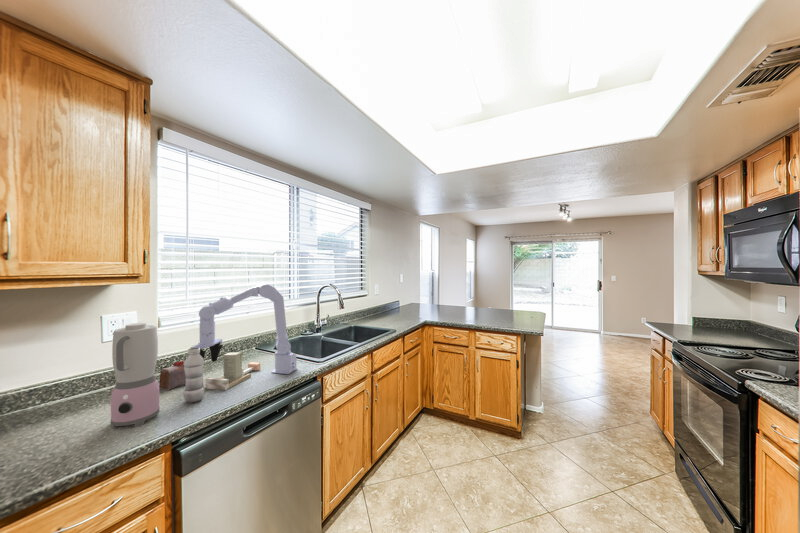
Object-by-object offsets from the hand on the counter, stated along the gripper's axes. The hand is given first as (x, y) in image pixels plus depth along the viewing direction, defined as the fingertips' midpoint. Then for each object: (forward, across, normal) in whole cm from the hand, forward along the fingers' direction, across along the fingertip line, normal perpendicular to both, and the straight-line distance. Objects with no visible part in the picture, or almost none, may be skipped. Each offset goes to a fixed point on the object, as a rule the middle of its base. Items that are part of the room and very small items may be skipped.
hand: (207, 363), depth 130 cm
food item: (+9, +3, -11) cm, 14 cm away
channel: (+8, -3, +9) cm, 13 cm away
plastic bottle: (+9, +16, +10) cm, 21 cm away
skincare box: (+9, -4, +9) cm, 13 cm away
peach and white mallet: (+8, -14, +9) cm, 19 cm away
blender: (+9, +33, +4) cm, 34 cm away
